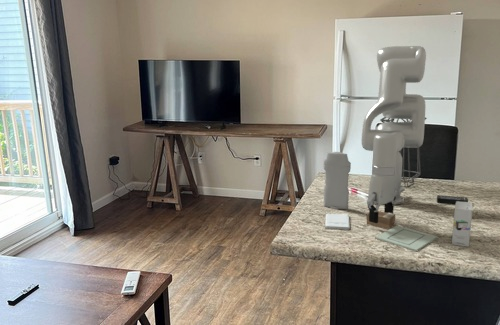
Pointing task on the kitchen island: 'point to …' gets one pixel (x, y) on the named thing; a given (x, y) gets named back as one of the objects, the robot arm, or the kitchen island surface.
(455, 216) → the ink box
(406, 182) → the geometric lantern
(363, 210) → the kitchen island surface
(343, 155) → the tall pale column
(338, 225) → the external hard drive
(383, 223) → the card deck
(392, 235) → the mat
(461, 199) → the multiport hub
